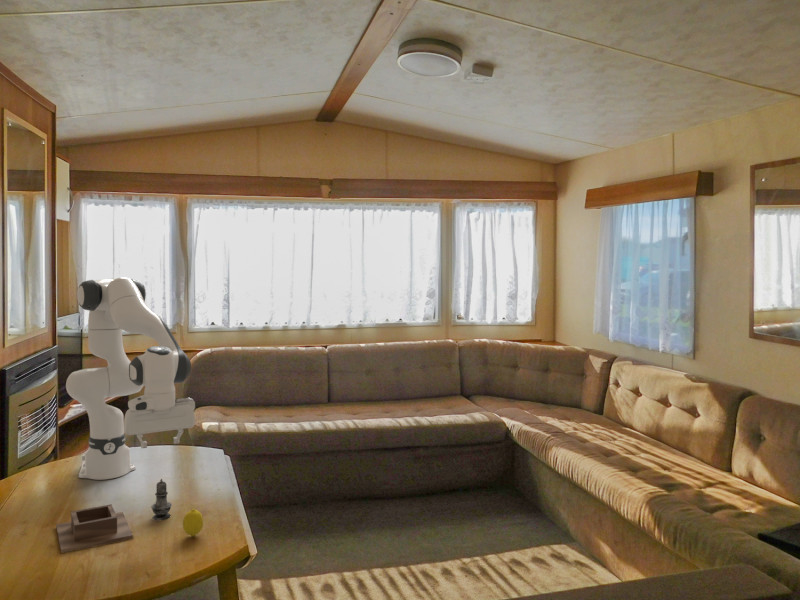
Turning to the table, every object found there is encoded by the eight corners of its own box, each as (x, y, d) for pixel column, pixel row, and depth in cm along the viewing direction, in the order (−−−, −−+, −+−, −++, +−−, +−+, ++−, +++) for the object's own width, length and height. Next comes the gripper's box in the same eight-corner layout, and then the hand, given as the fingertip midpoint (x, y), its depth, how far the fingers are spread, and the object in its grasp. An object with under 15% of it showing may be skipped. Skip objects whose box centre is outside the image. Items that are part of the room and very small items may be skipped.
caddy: (56, 527, 184) (56, 509, 184) (122, 515, 194) (122, 497, 194) (61, 553, 169) (60, 533, 169) (132, 538, 179) (132, 519, 178)
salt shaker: (164, 521, 190) (164, 483, 189) (147, 519, 191) (147, 481, 190) (175, 514, 196) (175, 476, 195) (158, 512, 197) (158, 474, 196)
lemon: (185, 532, 183) (185, 505, 183) (205, 532, 184) (205, 505, 183) (180, 541, 178) (180, 513, 177) (200, 540, 178) (200, 513, 178)
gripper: (192, 395, 199) (192, 438, 200) (122, 402, 188) (123, 447, 189) (197, 398, 194) (197, 443, 194) (125, 406, 183) (126, 453, 184)
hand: (160, 445), depth 192 cm, fingers open, 8 cm apart
